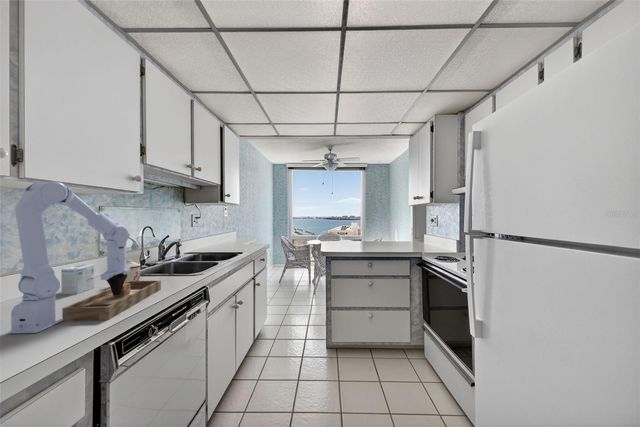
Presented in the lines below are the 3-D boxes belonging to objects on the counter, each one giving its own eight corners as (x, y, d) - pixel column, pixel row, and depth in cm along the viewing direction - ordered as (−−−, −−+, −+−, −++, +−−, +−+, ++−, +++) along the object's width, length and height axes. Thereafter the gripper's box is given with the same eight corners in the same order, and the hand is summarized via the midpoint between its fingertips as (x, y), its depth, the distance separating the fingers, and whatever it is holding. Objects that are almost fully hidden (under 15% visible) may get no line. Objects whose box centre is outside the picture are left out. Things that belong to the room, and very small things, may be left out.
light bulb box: (79, 287, 131) (79, 264, 131) (95, 287, 132) (95, 264, 132) (60, 294, 120) (60, 269, 120) (77, 294, 121) (77, 268, 121)
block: (124, 296, 110) (124, 285, 110) (113, 296, 110) (113, 286, 110) (130, 293, 114) (130, 283, 114) (119, 293, 114) (119, 283, 114)
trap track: (108, 319, 93) (108, 307, 93) (62, 320, 92) (62, 308, 92) (160, 289, 129) (160, 280, 129) (127, 290, 128) (127, 281, 128)
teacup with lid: (137, 285, 135) (137, 260, 135) (115, 287, 132) (114, 262, 132) (144, 279, 146) (144, 257, 146) (123, 281, 143) (123, 257, 143)
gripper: (115, 261, 101) (115, 300, 102) (138, 255, 116) (138, 289, 116) (94, 262, 101) (94, 300, 101) (119, 255, 115) (119, 289, 115)
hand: (116, 294), depth 109 cm, fingers closed
